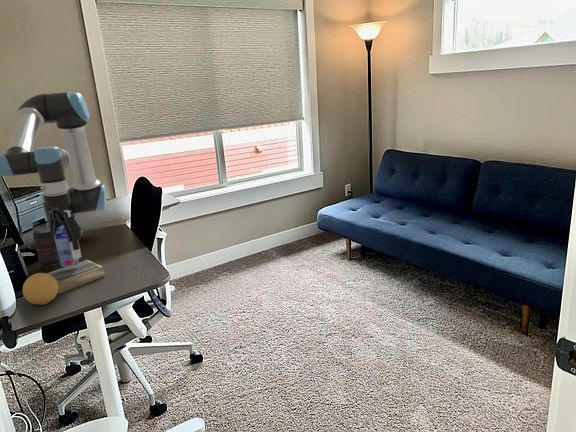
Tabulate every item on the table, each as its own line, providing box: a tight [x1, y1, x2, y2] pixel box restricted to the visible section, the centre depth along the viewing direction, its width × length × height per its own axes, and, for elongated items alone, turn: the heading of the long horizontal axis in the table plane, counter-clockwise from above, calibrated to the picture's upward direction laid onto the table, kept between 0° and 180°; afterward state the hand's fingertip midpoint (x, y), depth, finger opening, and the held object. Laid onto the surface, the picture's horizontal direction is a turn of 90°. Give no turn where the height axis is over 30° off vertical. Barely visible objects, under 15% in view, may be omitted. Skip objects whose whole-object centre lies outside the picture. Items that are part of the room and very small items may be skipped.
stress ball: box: [22, 272, 59, 306], centre depth 139 cm, size 10×10×10 cm
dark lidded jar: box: [32, 226, 61, 270], centre depth 168 cm, size 8×8×15 cm
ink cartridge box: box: [55, 226, 80, 268], centre depth 152 cm, size 10×6×14 cm, turn 20°
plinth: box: [48, 259, 106, 294], centre depth 155 cm, size 12×16×4 cm
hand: (69, 254), depth 153 cm, fingers closed on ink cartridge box, 11 cm apart
